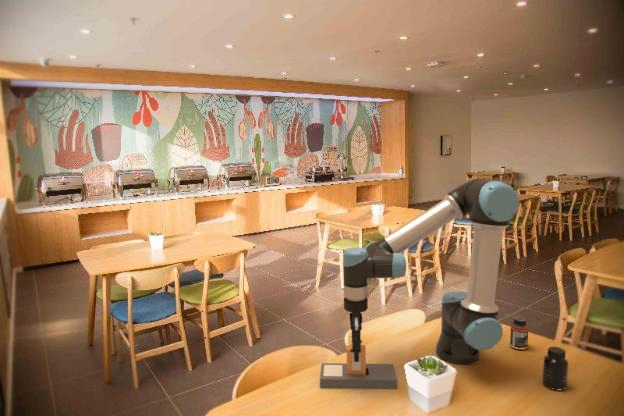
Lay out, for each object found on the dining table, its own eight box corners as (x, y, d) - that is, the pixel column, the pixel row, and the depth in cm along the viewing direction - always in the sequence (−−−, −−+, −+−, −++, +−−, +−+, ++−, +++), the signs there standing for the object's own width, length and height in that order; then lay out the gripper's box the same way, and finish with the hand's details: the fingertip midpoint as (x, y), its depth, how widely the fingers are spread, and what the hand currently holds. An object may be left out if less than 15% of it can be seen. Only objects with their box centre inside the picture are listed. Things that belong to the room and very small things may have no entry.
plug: (365, 376, 146) (365, 345, 144) (365, 382, 142) (365, 350, 141) (347, 376, 146) (346, 345, 145) (347, 382, 143) (346, 350, 141)
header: (393, 375, 149) (393, 363, 148) (396, 391, 139) (397, 379, 138) (321, 374, 150) (321, 362, 150) (320, 390, 140) (320, 378, 140)
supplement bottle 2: (570, 392, 136) (572, 356, 135) (546, 390, 138) (548, 354, 136) (562, 380, 143) (564, 345, 141) (539, 378, 144) (541, 344, 143)
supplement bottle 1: (511, 342, 170) (513, 314, 168) (528, 346, 167) (530, 317, 165) (508, 348, 165) (509, 319, 164) (525, 352, 162) (527, 323, 160)
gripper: (343, 288, 148) (344, 353, 152) (343, 307, 132) (344, 379, 136) (366, 288, 148) (366, 354, 152) (369, 307, 132) (369, 380, 135)
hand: (356, 366), depth 144 cm, fingers closed on plug, 3 cm apart
